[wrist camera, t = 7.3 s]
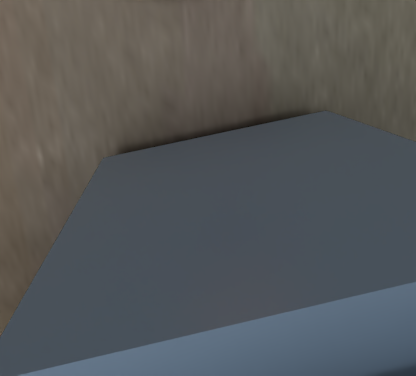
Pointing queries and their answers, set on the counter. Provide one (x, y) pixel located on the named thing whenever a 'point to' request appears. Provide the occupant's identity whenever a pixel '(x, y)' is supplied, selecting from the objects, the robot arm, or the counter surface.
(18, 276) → the counter surface
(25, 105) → the counter surface
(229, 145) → the slate blue square block
